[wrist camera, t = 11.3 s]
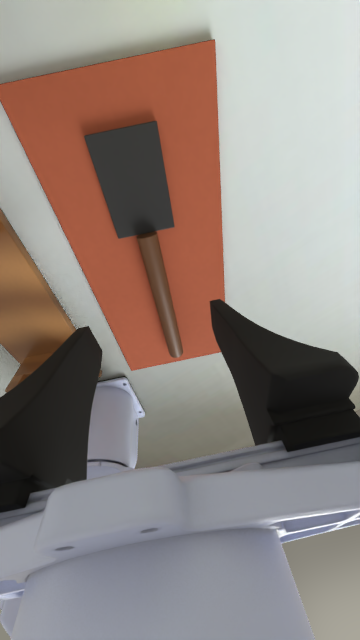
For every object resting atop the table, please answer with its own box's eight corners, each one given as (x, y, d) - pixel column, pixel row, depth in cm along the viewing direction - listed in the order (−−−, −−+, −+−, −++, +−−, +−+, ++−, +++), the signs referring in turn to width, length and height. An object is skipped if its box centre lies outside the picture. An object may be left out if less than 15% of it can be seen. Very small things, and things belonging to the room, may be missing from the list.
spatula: (194, 343, 24) (196, 353, 23) (157, 351, 24) (157, 361, 23) (156, 121, 13) (157, 117, 11) (85, 136, 13) (78, 133, 11)
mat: (225, 348, 26) (226, 350, 26) (131, 368, 26) (131, 370, 26) (213, 42, 11) (215, 38, 11) (-4, 87, 11) (-8, 85, 11)
